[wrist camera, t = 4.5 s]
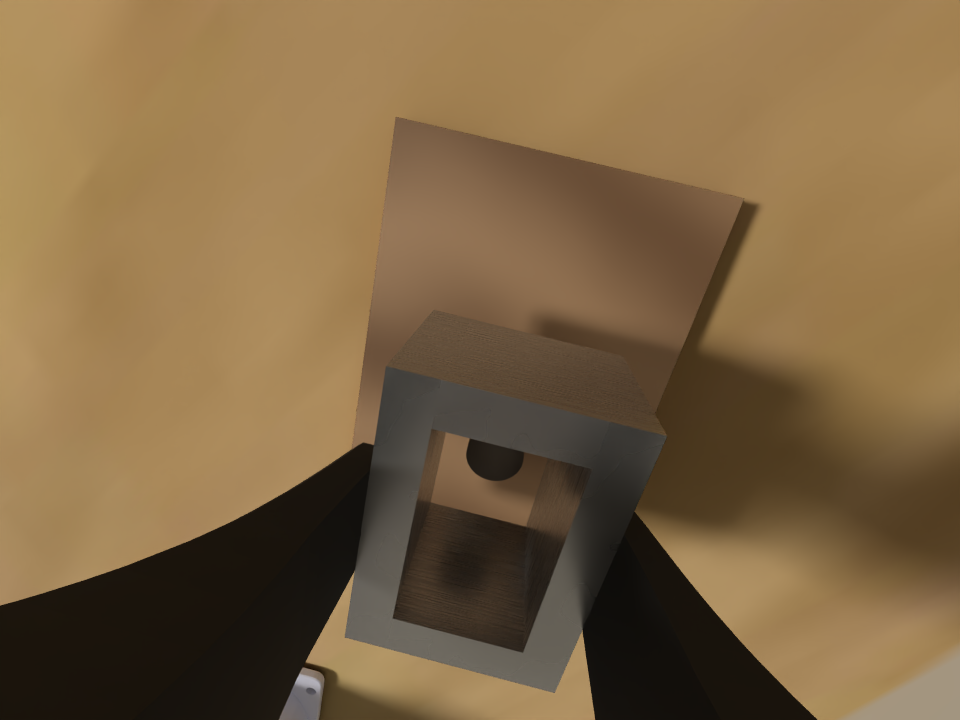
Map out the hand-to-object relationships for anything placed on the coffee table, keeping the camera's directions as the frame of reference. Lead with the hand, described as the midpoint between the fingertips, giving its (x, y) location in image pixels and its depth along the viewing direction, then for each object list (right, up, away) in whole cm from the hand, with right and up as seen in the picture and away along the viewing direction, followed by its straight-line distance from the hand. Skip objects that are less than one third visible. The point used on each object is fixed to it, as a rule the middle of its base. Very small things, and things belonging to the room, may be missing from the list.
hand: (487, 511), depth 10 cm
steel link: (0, +1, +3) cm, 3 cm away
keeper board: (+1, +2, +6) cm, 6 cm away
